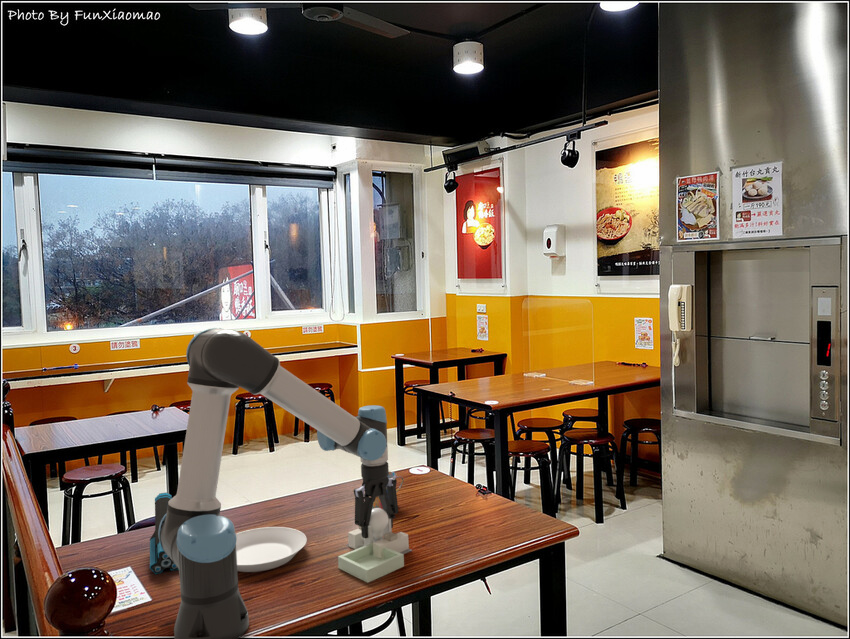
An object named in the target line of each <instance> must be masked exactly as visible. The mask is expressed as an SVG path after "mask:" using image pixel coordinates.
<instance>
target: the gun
mask: <svg viewBox="0 0 850 639" xmlns="http://www.w3.org/2000/svg"><path fill="white" fill-rule="evenodd" d="M172 498H173V497H172V494H170V493H168V492H161V493H158V495H156V497H154V521H155V522H154V524H155V525H154V526H155V527H154V531H153V534H152V535H151V536H150V538H149V569H150V570H151V571H152V573H154V574H155V575H158V574H161V573H163V572H164V570H165V569H169V570H170V571H179V569H178V567H177V566H176V565H175V564H174V562H173V561H172V560H171V558H170V557H169V556H168V555H167V554H166V553H165V552H164V550H163V549H162V547H161V544H160V541H159V535H158V531H159V525H160V522H161V520H162V518H163V517H164V515H165V514H166V513H167V508H168V502H169V500H171V499H172Z"/></svg>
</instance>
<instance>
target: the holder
mask: <svg viewBox="0 0 850 639" xmlns="http://www.w3.org/2000/svg"><path fill="white" fill-rule="evenodd" d="M347 537H348V538H347V540H348V541H347V542H348V543H346V544H345V546H346V547H349V548H351V549H353V550H355V549H358V548H360V547H363V546H364V538H363V537H362V532H361V526H358V528H356V529H354V530H353V529H352V530H350V531H348V532H347ZM372 543H373V537H372ZM385 547H387V548H389V549H392V550H394V551H396V552H399V553H401V554H404V555H405V554H408V553H411V552H413V550H412V549H410V548H409V547H410V546H409V534H408V533H406V532H402V531H400V532H396V533H394V532H388V533H386V534H384V535H383V539H382V540H379V541H377V542H374V543H373V556H376V557H378V558H380V559H381V558H384V557H383V548H385Z"/></svg>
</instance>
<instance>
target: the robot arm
mask: <svg viewBox="0 0 850 639" xmlns="http://www.w3.org/2000/svg"><path fill="white" fill-rule="evenodd" d="M185 354H186V356H185V357H186V362H187V365H188V366H189V368H188V374H187V380H186V381H187V382H186V384H187V385H188V387H190V390H191V391H192V394H191V400H190V406H189V413H188V419H187V427H186V431H185V433H186V434H185V438H184V445H183V451H182V458H181V466H180V469H179V470H180V471H179V478H178V484H177V491H176V494H175V495H174V496H173V497H172V499H171V500H169V502H168V508H167V513H166V514H165V515H164V517H163V518H162V520H161V522H160V525H159V531H158V535H159V541H160V544H161V547H162V549H163V550H164V552H165V553H166V554H167V555H168V556H169V557H170V558H171V560H172V561H173V562H174V564H175V565H176V566H177V567H178V575H179V588H180V590H179V591H180V604H179V607H178V612H177V616H176V619H175V623H174V626H173V627H174V628H173V633H174V634H173V635H174V638H173V639H239V638H240V637H242V636H243V635H244V634H245V633H246V632H247V630H248V628H249V625H250V620H249V618H250V617H249V612H248V611H249V610H248V608H247V606H246V604H245V601H244V599H243V597H242V595H241V592H240V590H239V578H238V577H239V576H238V575H239V574H238V573H239V571H237V553H236V541H237V538H236V529H235V525H234V523H233V522H232V520H231V519H230V518H228V517H226V516H224V515H220V514H221V510H222V504H221V502H220V500H219V499H218V498H217V490H218V482H219V475H220V470H221V462H222V456H223V449H224V444H225V436H226V432H227V431H226V430H227V424H228V417H229V410H230V404H231V396H232V394H234V393H235V392H236V391H238V390H239V388H241V389H243V390H245V391H247V392H248V393H251V395H255V396H257V395H261V396H264V397H265V398H266V399H267V400H269V401H271V402H273V403H274V404H276V405H277V406H279V407H280V408H282V409H284V410H285V411H287V412H288V413H290V414H291V415H293V416H294V417H296V418H298V419H299V420H300V421H303V422H304V423H306V424H307V425H309V426H310V427H311V428H314V429H315V430H316V431H317V432H316V437H317V439H316V440H317V442H318V445H319V447H320V449H321V450H322V451H324V452H328V451H330V452H331V451H333V452H334V451H336V450H341V451H343V452H346V453H348V454H351V455H353V456H356V457H359V458H360V463H361V464H360V473H361V478H362V482H361V486H360V487H358V488H354V489H353V495H354V525H356V526H358V527H359V526H361V532H362V537H363V538H364V546H365V545H368V544H370V543H372V528H371V526H370V525H369V522H370V517H371V512H372V509H373V508H372V507H373V502H374V501H375V498H376V497H377V496H379V499H380V502H381V504H382V507H383V510H385V511H386V513H387V515H388V518H389V521H388V525H387V527H386V528H385V530H384V534H386V533H388V532H392V529H393V527H394V520H393V519H395V518H396V515H397V514H398V513H399V505H398V504H399V503H398V496H397V492H396V490H397V482H398V479H393V478H389V479H388V475H389V463H388V460H389V454H388V452H389V450H388V426H387V425H388V419H387V413H386V409H385V407H384V406H381V405H374V404H373V405H365V406H362V407H359V409H358V413H357V415H355V416H354V415H352V413H349V412H348V411H347V410H345V409H344V408H342V407H341V406H340V405H338V404H337V403H335V402H334V401H332V400H331V399H329V398H328V397H327V396H325V395H324V394H322V393H321V392H320V391H318V390H316V389H315V388H313V387H312V386H310V385H309V384H307V383H306V382H305V381H303V380H302V379H300V378H298V377H297V376H296V375H294V374H293V373H292V372H290V371H288V370H287V369H286V368H284V367H283V366H281V361H280V359H279V358H278V357H276V356H275V355H273V354H272V353H271V352H269V351H268V350H266V348H264V347H263V346H262V345H260V344H259V343H258V342H257V341H255V340H254V339H253V338H251V337H250V336H249V335H247V334H245V332H242V331H239V330H235V329H224V328H221V327H219V328H218V327H212V328H208V329H204V330H202V331H199V332H198V333H197V334H195V335H194V336H193V337H192V338H191V340H190V341H189V343H188V344H187V348H186V353H185ZM386 487H387V490H386ZM387 491H388V493H387ZM392 533H393V532H392Z"/></svg>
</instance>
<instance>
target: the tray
mask: <svg viewBox="0 0 850 639" xmlns="http://www.w3.org/2000/svg"><path fill="white" fill-rule="evenodd" d="M373 543H374V542H373ZM373 543H370V544H368V545H365V546H363V547H360V548H358V549H353V550H351V551H349V552H346V553H343V554H341V555H338V556H337V564H338V569H339V570H341V571H343V572H346V573H347V574H349V575H351V576H353V577H355V578H357V579H359V580H361V581H363V582H365V583H367V584H368V583H370V582H373V581H375V580H376V579H377V580H378V579H380V578H381V577H384V576H386V575H388V574H391V573H392V572H396V570H397V571H398V570H400V569H401V568H403V567H405V556H404V555H405V554H401V553H399V552H396V551H394V550H392V549H389V548H387V547H385V548H383V557H384V558H381V559H380V558H378V557H376V556H373Z"/></svg>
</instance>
